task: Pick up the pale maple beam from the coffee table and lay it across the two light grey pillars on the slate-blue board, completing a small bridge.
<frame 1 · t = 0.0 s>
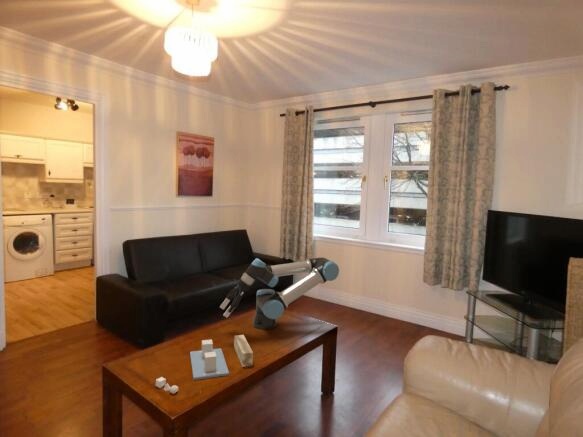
hand: (223, 312, 200), 15 cm above the table, tool tilted 35°, fingers open, 13 cm apart
blueprint board: (208, 364, 171), on the table
game pieces: (167, 390, 149), on the table
maple beam: (242, 356, 181), on the table
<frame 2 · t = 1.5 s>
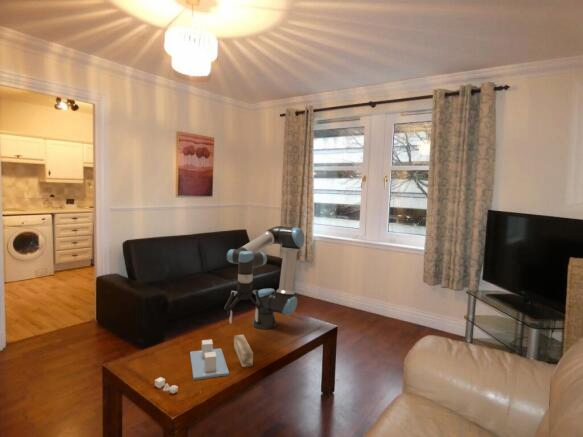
hand: (243, 321, 179), 18 cm above the table, tool pointing down, fingers open, 13 cm apart
nothing on the table moved.
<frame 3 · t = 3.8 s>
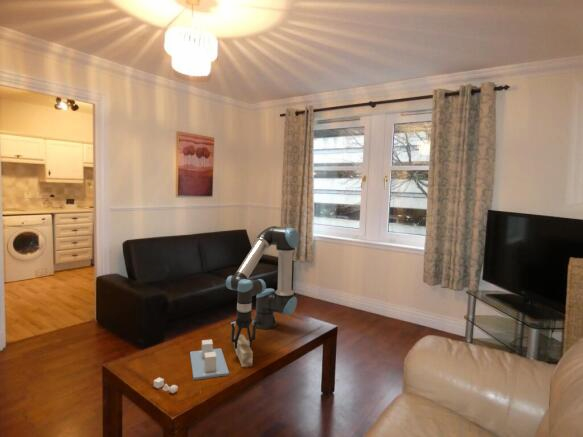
hand: (242, 353, 181), 1 cm above the table, tool pointing down, fingers closed on maple beam, 5 cm apart
maple beam: (242, 356, 181), on the table, touching gripper
everything else where it was.
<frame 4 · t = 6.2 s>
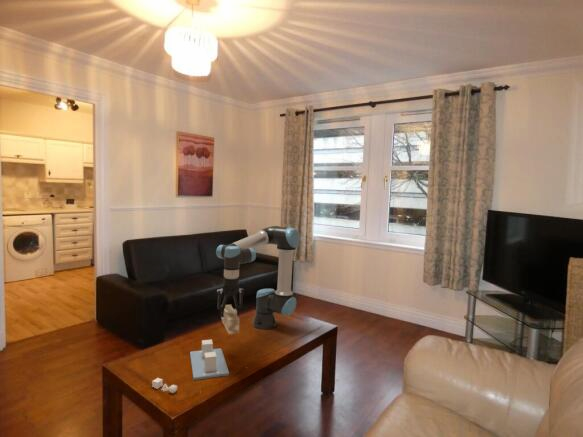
hand: (229, 322, 175), 19 cm above the table, tool pointing down, fingers closed on maple beam, 5 cm apart
maple beam: (229, 325, 175), point 18 cm above the table, touching gripper
everything else where it was.
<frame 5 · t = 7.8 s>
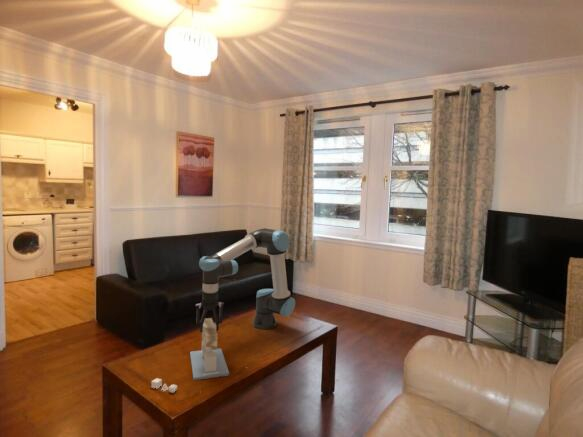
hand: (208, 337, 170), 14 cm above the table, tool pointing down, fingers closed on maple beam, 5 cm apart
maple beam: (208, 340, 170), point 12 cm above the table, touching gripper
when the fingers open (11 cm above the table, at t = 8.9 s): maple beam drops 2 cm, resting on blueprint board.
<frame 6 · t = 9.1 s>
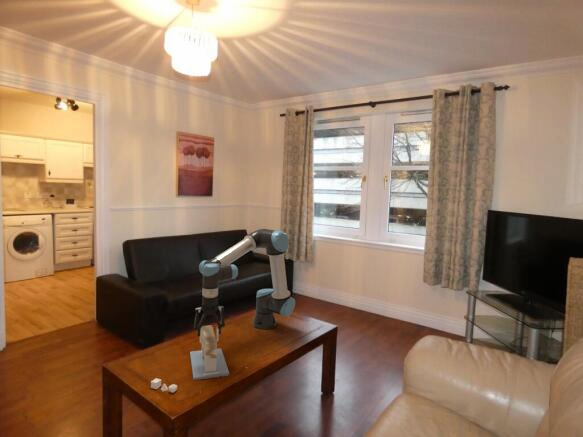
hand: (209, 341, 170), 12 cm above the table, tool pointing down, fingers open, 7 cm apart
maple beam: (208, 348, 170), point 8 cm above the table, touching blueprint board
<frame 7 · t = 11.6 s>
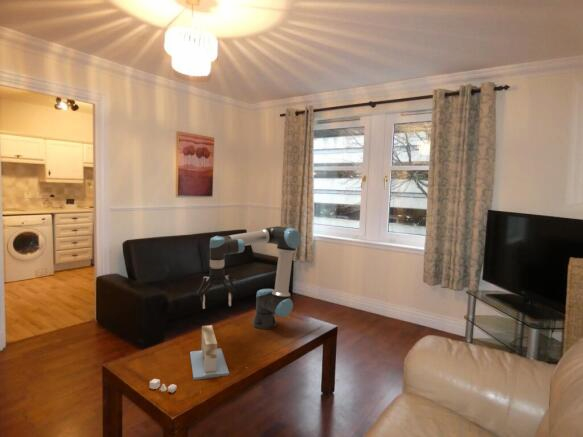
hand: (217, 306, 182), 25 cm above the table, tool pointing down, fingers open, 13 cm apart
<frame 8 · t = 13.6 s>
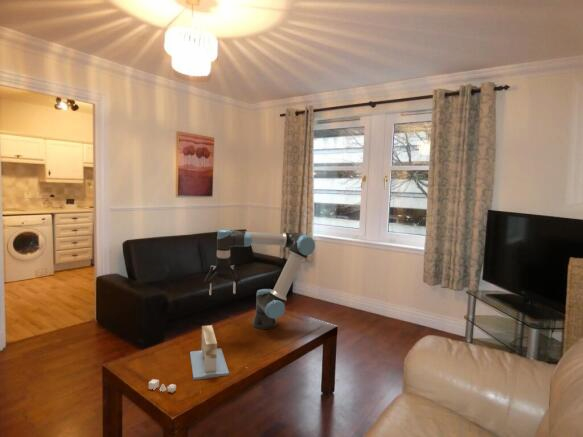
hand: (222, 293, 198), 27 cm above the table, tool pointing down, fingers open, 13 cm apart
at the end: maple beam inside the target area on the blueprint board (0.0 cm from its centre), point 8.2 cm above the blueprint board's base; maple beam tilted 0°; the gripper is holding nothing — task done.
